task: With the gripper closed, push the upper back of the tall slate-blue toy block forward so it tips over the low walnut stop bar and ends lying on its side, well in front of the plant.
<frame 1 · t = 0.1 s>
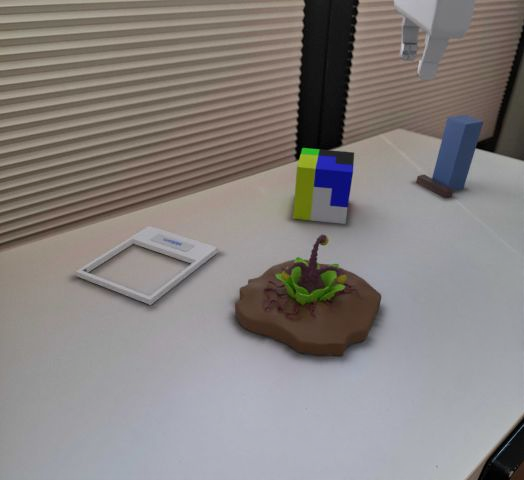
hand: (415, 68, 61), 31 cm above the table, tool pointing down, fingers open, 8 cm apart
puzzle toy: (320, 210, 101), on the table
stop bar: (433, 189, 110), on the table
photo frame: (150, 264, 83), on the table
plant: (309, 309, 75), on the table
toy block: (446, 186, 111), on the table
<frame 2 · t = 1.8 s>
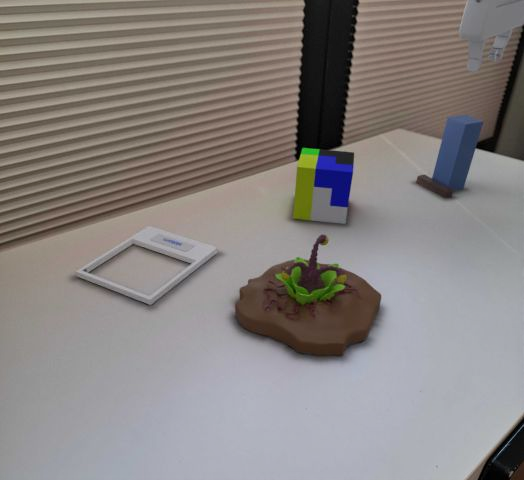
hand: (483, 65, 82), 27 cm above the table, tool pointing down, fingers open, 8 cm apart
nothing on the table moved.
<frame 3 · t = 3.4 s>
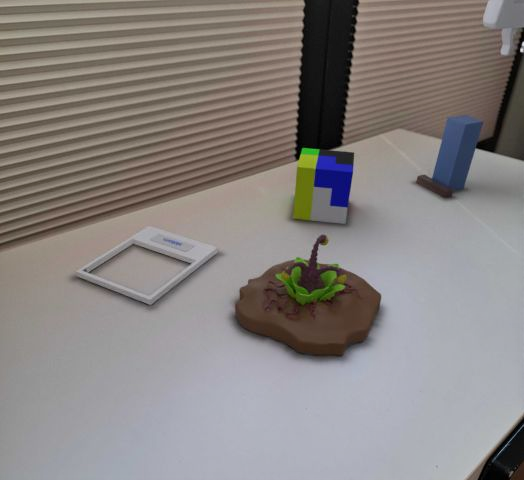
hand: (516, 53, 98), 25 cm above the table, tool pointing down, fingers open, 4 cm apart
nothing on the table moved.
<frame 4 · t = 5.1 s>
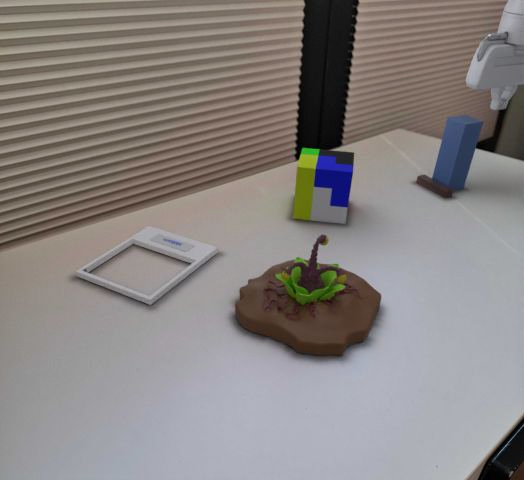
hand: (497, 108, 105), 15 cm above the table, tool pointing down, fingers closed
nothing on the table moved.
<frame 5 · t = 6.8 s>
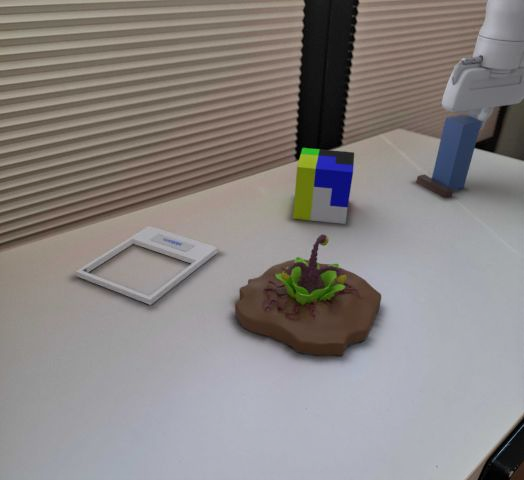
hand: (474, 129, 106), 11 cm above the table, tool pointing down, fingers closed
toy block: (446, 186, 111), on the table, touching gripper
everything else where it was.
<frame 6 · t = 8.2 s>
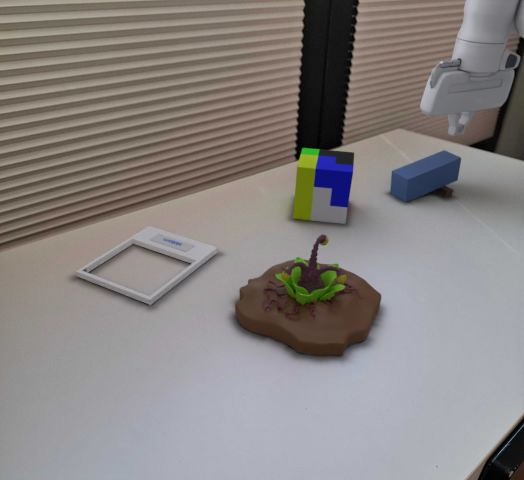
hand: (455, 134, 104), 11 cm above the table, tool pointing down, fingers closed
toy block: (451, 165, 108), point 5 cm above the table, tilted 99°, touching stop bar
everything else where it was.
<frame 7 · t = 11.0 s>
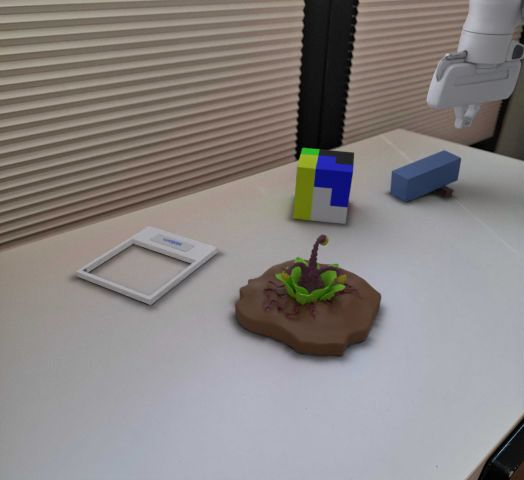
hand: (462, 127, 103), 13 cm above the table, tool pointing down, fingers closed
nothing on the table moved.
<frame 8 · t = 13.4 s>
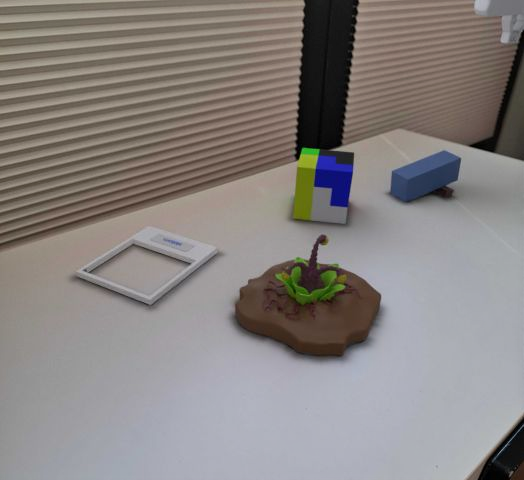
hand: (508, 42, 96), 27 cm above the table, tool pointing down, fingers closed
nothing on the table moved.
at the end: toy block tilted 99°; the gripper is holding nothing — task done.
